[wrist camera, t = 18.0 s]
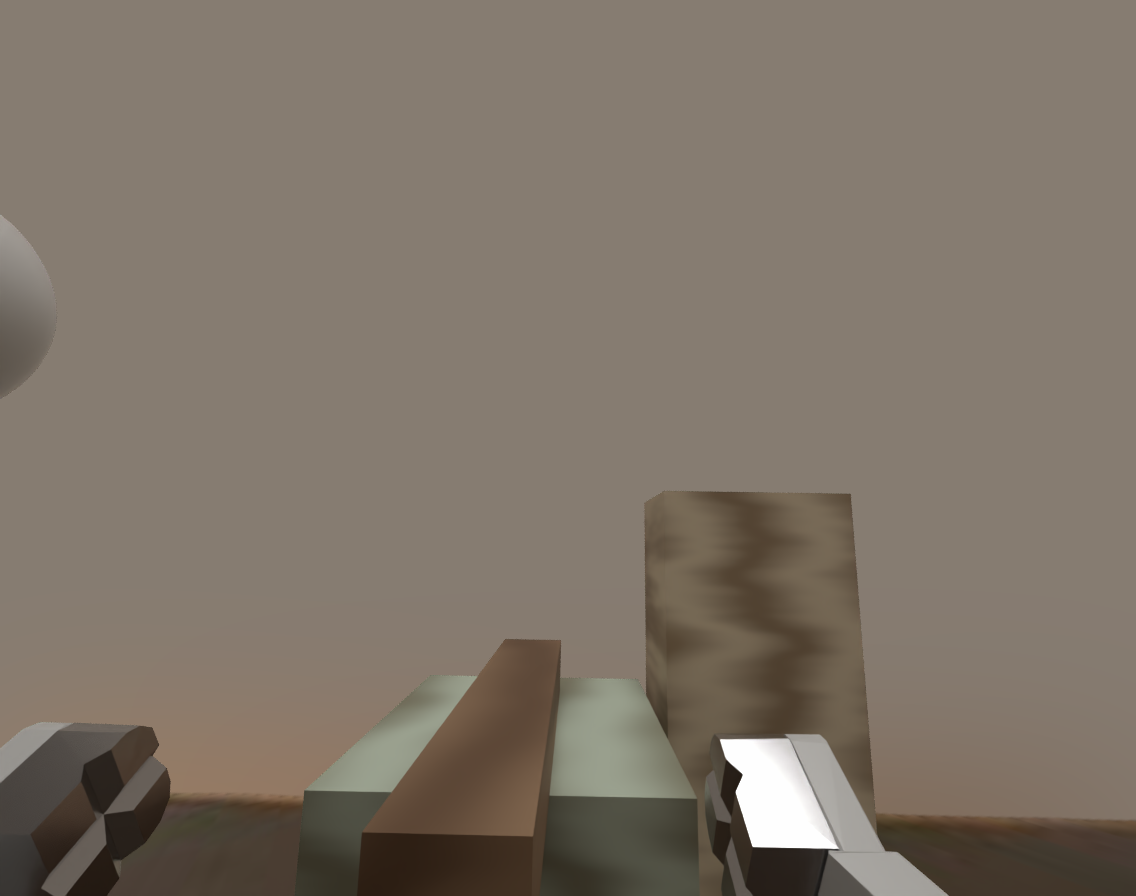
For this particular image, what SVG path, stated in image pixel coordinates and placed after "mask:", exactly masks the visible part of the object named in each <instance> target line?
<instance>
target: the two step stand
mask: <svg viewBox="0 0 1136 896" xmlns="http://www.w3.org/2000/svg"><path fill="white" fill-rule="evenodd" d="M851 506H852V505H851V494H828V493H826V494H825V493H824V494H823V493H763V492H756V493H755V492H698V491H697V492H696V491H695V492H694V491H663V492H662V493H660V494H658V495H657V496H655V497H653V498H652V499H650V500H648V501H647V502H645V596H646V597H645V604H646V605H645V609H646V695H645V692H644V690H643V688H642V686H641V684H640V683H639V680H638V679H597V678H593V679H592V678H560V694H559V704H558V714H557V724H556V734H555V745H554V755H553V765H552V775H551V785H550V795H549V805H548V815H547V825H546V835H545V846H544V856H543V866H542V876H541V886H540V896H723V895H722V891H721V884H722V877H723V870H724V865H723V864H722V863H721V862H720V861H719V860H718V858H717V857H716V856H715V855H714V854H713V853H712V848H711V844H710V839H709V835H708V829H707V822H706V816H705V784H706V776H707V775H708V774H709V773H711V772H712V771H713V766H712V762H711V759H710V755H709V751H710V744H711V739H712V737H713V735H714V734H782V735H784V734H819V735H821V736H822V737H823V738H824V739H825V740H826V741H827V743H828V744H829V746H830V748H831V750H832V752H833V754H834V756H835V758H836V760H837V761H838V763H839V765H840V767H841V769H842V771H843V773H844V775H845V776H846V778H847V780H848V782H849V784H850V786H851V788H852V790H853V792H854V793H855V795H856V797H857V799H858V801H859V803H860V805H861V807H862V808H863V810H864V812H865V814H866V816H867V818H868V820H869V822H870V823H871V825H872V827H873V829H874V831H875V833H876V835H877V827H876V814H875V802H874V789H873V776H872V763H871V752H870V751H871V750H870V738H869V725H868V711H867V698H866V686H865V673H864V660H863V647H862V634H861V621H860V608H859V596H858V585H857V584H858V583H857V570H856V557H855V545H854V531H853V518H852V507H851ZM477 677H478V676H438V675H431V676H430V677H428V678H427V679H426V680H425V681H424V682H423V683H422V684H421V685H420V686H419V687H417V688H416V689H415V690H414V691H413V692H412V693H411V694H410V695H409V696H407V697H406V698H405V699H404V700H403V701H402V702H401V703H400V704H399V705H398V706H397V707H395V708H394V709H393V710H392V711H391V712H390V713H389V714H388V715H387V716H386V717H385V718H384V719H382V720H381V721H380V722H379V723H378V724H377V725H376V726H375V727H373V728H372V729H371V730H370V731H369V732H368V733H367V734H366V735H365V736H364V737H363V738H362V739H360V740H359V741H358V742H357V743H356V744H355V745H354V746H353V747H352V748H350V749H349V750H348V751H347V752H346V753H345V754H344V755H343V756H342V757H341V758H339V760H337V761H336V762H335V763H334V764H333V765H332V766H331V767H330V768H329V769H328V770H326V771H325V772H324V773H323V774H322V775H321V776H320V777H319V778H318V779H316V780H315V781H314V782H313V783H312V784H311V785H310V786H309V787H308V788H307V789H305V791H304V801H303V811H302V822H301V833H300V843H299V854H298V864H297V875H296V885H295V896H357V888H358V875H359V862H360V849H361V836H362V831H363V830H364V829H365V827H366V826H367V825H368V823H369V822H370V821H371V819H372V818H373V817H374V815H375V814H376V812H377V811H378V810H379V808H380V807H381V806H382V804H383V803H384V802H385V800H386V799H387V798H388V796H389V795H390V794H391V792H392V791H393V790H394V788H395V787H396V786H397V784H398V783H399V782H400V780H401V779H402V777H403V776H404V775H405V773H406V772H407V771H408V769H409V768H410V767H411V765H412V764H413V763H414V761H415V760H416V759H417V757H418V756H419V755H420V753H421V752H422V751H423V749H424V748H425V747H426V745H427V744H428V742H429V741H430V740H431V738H432V737H433V736H434V734H435V733H436V732H437V730H438V729H439V728H440V726H441V725H442V724H443V722H444V721H445V720H446V718H447V717H448V716H449V714H450V713H451V712H452V710H453V709H454V707H455V706H456V705H457V703H458V702H459V701H460V699H461V698H462V697H463V695H464V694H465V693H466V691H467V690H468V689H469V687H470V686H471V685H472V683H473V682H474V681H475V679H476V678H477Z"/></svg>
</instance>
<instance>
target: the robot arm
mask: <svg viewBox="0 0 1136 896" xmlns="http://www.w3.org/2000/svg"><path fill="white" fill-rule="evenodd" d="M56 308H57V307H56V300H55V295H54V290H53V287H52V284H51V281H50V278H49V276H48V273H47V271H46V269H45V267H44V265H43V263H42V261H41V260H40V258H39V257H38V255H37V253H36V252H35V250H34V249H33V248H32V246H31V245H30V244H29V243H28V241H27V240H26V239H25V237H24V236H23V235H22V234H21V233H20V232H19V231H18V230H17V229H16V228H15V227H14V226H13V224H11V223H10V222H9V221H8V220H6V219H5V218H4V217H3V216H2V215H0V399H1V398H2V397H4V396H6V395H8V394H9V393H11V392H12V391H13V390H15V389H16V388H17V387H19V386H20V385H21V384H22V383H24V382H25V381H26V380H27V379H28V378H29V377H30V376H31V375H32V374H33V373H34V372H35V370H36V369H37V368H38V367H39V366H40V364H41V363H42V361H43V359H44V358H45V356H46V355H47V353H48V350H49V348H50V346H51V344H52V341H53V337H54V333H55V329H56V321H57V309H56ZM158 746H159V743H158V741H157V738H156V736H155V733H154V731H153V728H152V727H145V726H134V725H112V724H88V723H52V722H51V723H50V722H39V723H37V724H35V725H32V726H30V727H27V728H25V729H23V730H21V731H20V732H19V733H18V734H17V735H16V736H14V737H13V738H12V739H11V740H10V741H9V742H7V743H6V744H5V745H4V746H3V747H2V748H0V896H107V894H108V893H109V892H110V890H111V889H112V888H113V886H114V885H115V883H116V882H117V881H118V879H119V877H120V866H121V860H122V859H124V858H125V857H126V856H128V855H129V854H131V853H132V852H133V851H135V850H136V849H138V848H139V847H140V846H142V845H143V844H145V842H146V841H147V840H148V838H149V837H150V835H151V834H152V832H153V831H154V830H155V828H156V827H157V825H158V824H159V823H160V821H161V818H162V816H163V813H164V811H165V808H166V805H167V803H168V800H169V798H170V778H169V775H168V771H167V768H166V767H165V766H164V765H162V764H161V763H160V762H159V761H158V760H156V759H155V758H154V757H153V754H154V753H155V751H156V749H157V748H158ZM709 755H710V759H711V762H712V766H713V771H712V772H711V773H709V774H708V775H707V776H706V784H705V816H706V822H707V829H708V835H709V839H710V844H711V848H712V853H713V854H714V855H715V856H716V857H717V858H718V860H719V861H720V862H721V863H722V864H723V865H724V870H723V877H722V884H721V891H722V895H723V896H948V895H947V894H946V893H945V892H944V891H943V890H941V889H940V888H939V887H938V886H937V885H935V884H934V883H933V882H932V881H931V880H930V879H928V878H927V877H926V876H925V875H924V874H923V873H921V872H920V871H919V870H918V869H917V868H915V867H914V866H913V865H912V864H911V863H910V862H908V861H907V860H906V859H905V858H904V857H903V856H901V855H900V854H899V853H898V852H886V851H885V850H884V848H883V846H882V844H881V842H880V840H879V839H878V837H877V835H876V833H875V831H874V829H873V827H872V825H871V823H870V822H869V820H868V818H867V816H866V814H865V812H864V810H863V808H862V807H861V805H860V803H859V801H858V799H857V797H856V795H855V793H854V792H853V790H852V788H851V786H850V784H849V782H848V780H847V778H846V776H845V775H844V773H843V771H842V769H841V767H840V765H839V763H838V761H837V760H836V758H835V756H834V754H833V752H832V750H831V748H830V746H829V744H828V743H827V741H826V740H825V739H824V738H823V737H822V736H821V735H819V734H784V735H782V734H714V735H713V737H712V739H711V744H710V751H709Z"/></svg>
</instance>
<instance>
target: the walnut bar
mask: <svg viewBox="0 0 1136 896" xmlns="http://www.w3.org/2000/svg"><path fill="white" fill-rule="evenodd" d="M560 655H561V640H519V639H505V640H504V641H503V643H502V644H501V646H500V647H499V648H498V650H497V651H496V652H495V654H494V655H493V656H492V658H491V659H490V660H489V662H488V663H487V664H486V666H485V667H484V669H483V670H482V671H481V673H480V674H479V675H478V677H477V678H476V679H475V681H474V682H473V683H472V685H471V686H470V687H469V689H468V690H467V691H466V693H465V694H464V695H463V697H462V698H461V699H460V701H459V702H458V703H457V705H456V706H455V707H454V709H453V710H452V712H451V713H450V714H449V716H448V717H447V718H446V720H445V721H444V722H443V724H442V725H441V726H440V728H439V729H438V730H437V732H436V733H435V734H434V736H433V737H432V738H431V740H430V741H429V742H428V744H427V745H426V747H425V748H424V749H423V751H422V752H421V753H420V755H419V756H418V757H417V759H416V760H415V761H414V763H413V764H412V765H411V767H410V768H409V769H408V771H407V772H406V773H405V775H404V776H403V777H402V779H401V780H400V782H399V783H398V784H397V786H396V787H395V788H394V790H393V791H392V792H391V794H390V795H389V796H388V798H387V799H386V800H385V802H384V803H383V804H382V806H381V807H380V808H379V810H378V811H377V812H376V814H375V815H374V817H373V818H372V819H371V821H370V822H369V823H368V825H367V826H366V827H365V829H364V830H363V831H362V836H361V849H360V862H359V875H358V888H357V896H540V886H541V876H542V866H543V856H544V846H545V835H546V825H547V815H548V805H549V795H550V785H551V775H552V765H553V755H554V745H555V734H556V724H557V714H558V704H559V694H560V658H561V656H560Z"/></svg>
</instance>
